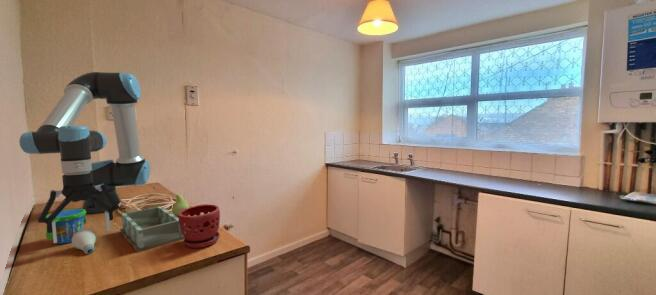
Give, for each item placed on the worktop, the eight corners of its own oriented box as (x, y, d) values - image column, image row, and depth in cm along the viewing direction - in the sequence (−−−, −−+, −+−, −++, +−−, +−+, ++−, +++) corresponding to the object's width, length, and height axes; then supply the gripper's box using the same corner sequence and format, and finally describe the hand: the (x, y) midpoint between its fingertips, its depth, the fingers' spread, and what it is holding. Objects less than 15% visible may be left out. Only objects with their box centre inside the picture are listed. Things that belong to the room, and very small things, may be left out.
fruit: (191, 217, 128) (189, 190, 127) (172, 220, 124) (170, 193, 123) (188, 212, 134) (187, 187, 133) (170, 216, 130) (168, 189, 128)
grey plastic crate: (120, 231, 112) (118, 214, 111) (163, 221, 123) (162, 205, 122) (137, 252, 94) (135, 231, 94) (185, 238, 105) (184, 219, 104)
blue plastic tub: (73, 231, 112) (70, 206, 111) (100, 231, 112) (98, 206, 111) (32, 250, 97) (29, 220, 96) (64, 249, 97) (61, 220, 96)
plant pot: (203, 232, 111) (202, 202, 109) (228, 239, 105) (227, 206, 103) (171, 246, 99) (169, 212, 98) (197, 254, 93) (195, 218, 92)
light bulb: (100, 238, 94) (91, 222, 101) (74, 249, 90) (66, 231, 96) (105, 253, 97) (96, 236, 103) (80, 264, 92) (72, 246, 99)
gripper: (22, 180, 83) (29, 251, 85) (125, 169, 101) (129, 228, 103) (22, 176, 89) (29, 243, 91) (120, 167, 107) (125, 223, 108)
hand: (83, 235), depth 97 cm, fingers open, 13 cm apart
